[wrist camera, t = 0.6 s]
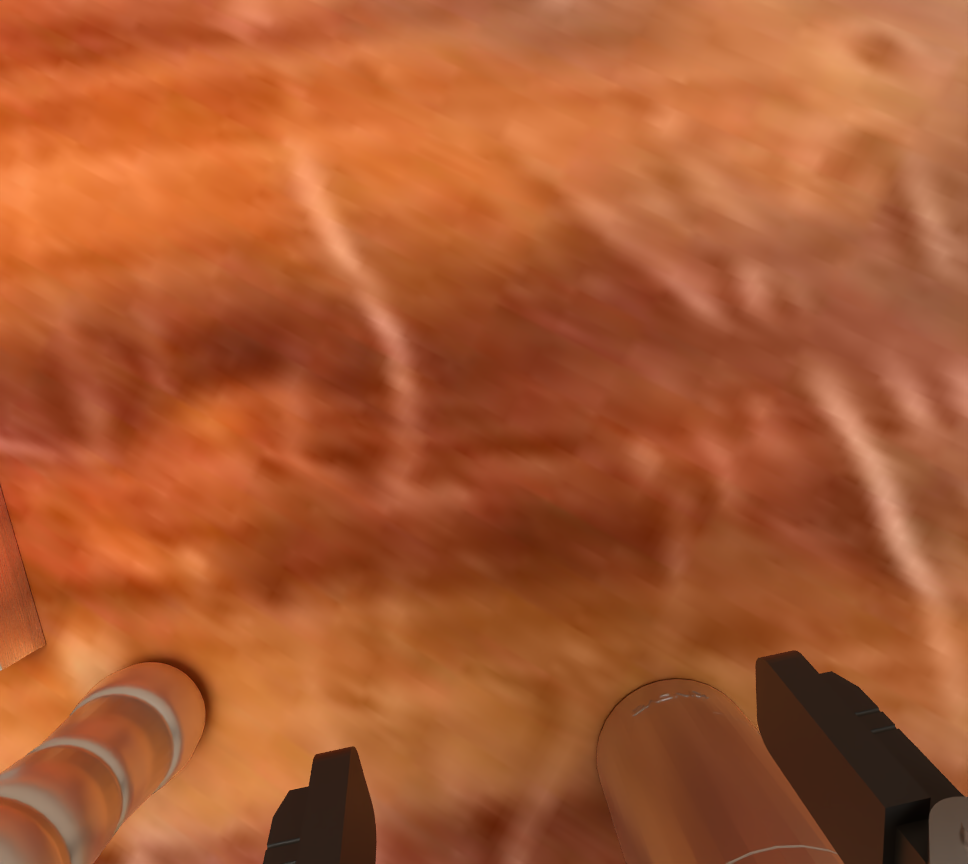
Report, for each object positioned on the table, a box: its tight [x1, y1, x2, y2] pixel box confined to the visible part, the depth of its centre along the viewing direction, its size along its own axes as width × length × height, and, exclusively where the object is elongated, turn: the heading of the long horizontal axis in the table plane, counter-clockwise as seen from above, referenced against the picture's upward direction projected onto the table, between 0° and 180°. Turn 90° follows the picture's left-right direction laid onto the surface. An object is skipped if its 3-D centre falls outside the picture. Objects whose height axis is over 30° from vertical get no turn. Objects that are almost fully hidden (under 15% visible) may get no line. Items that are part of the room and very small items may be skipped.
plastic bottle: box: [0, 662, 206, 864], centre depth 28 cm, size 6×7×20 cm
